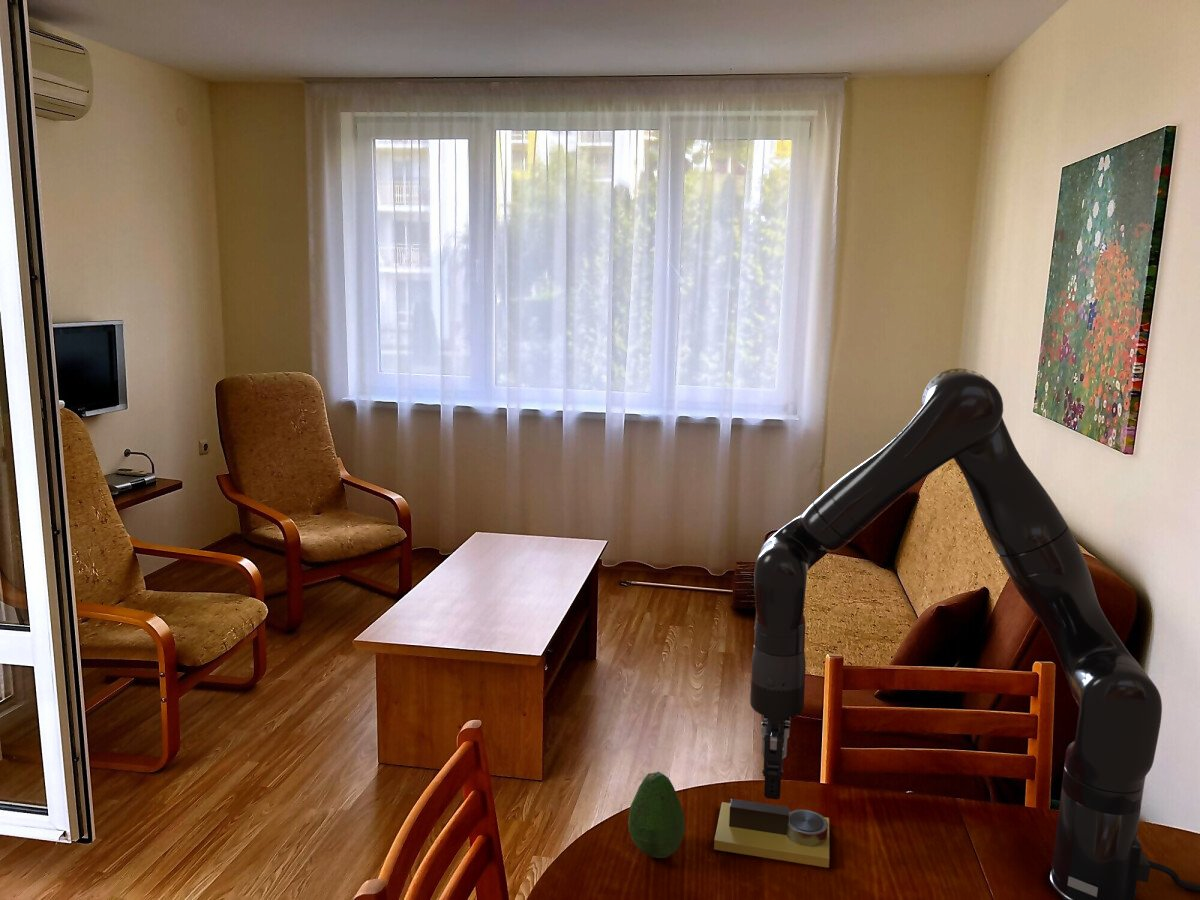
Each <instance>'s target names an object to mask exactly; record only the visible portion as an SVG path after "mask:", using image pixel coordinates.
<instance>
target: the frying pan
mask: <svg viewBox="0 0 1200 900" xmlns="http://www.w3.org/2000/svg"><path fill="white" fill-rule="evenodd" d="M729 803H730V815H729V826H730V827H736V828H743V829H749V830H756V831H762V832H769V833H775V834H782V835H786V836H787V837H788V838H789V839H790V840H791V841H793V842H795V843H797V844H800V845H803V846H818V845H821V844H823V843H824V842H825V841H826V839H827V831H828V823H827V821H826V819H825V818H824V817H825V816H823V815H822V814H821V813H819V812H816V811H814V810H810V809H809V810H808V809H795V810H792V811H791V807H790V806H785V805H777V804H770V803H765V802H764V803H763V802H757V801H750V800H743V799H736V798H731V799H730V802H729ZM789 812H790V813H789Z"/></svg>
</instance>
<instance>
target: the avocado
mask: <svg viewBox="0 0 1200 900" xmlns="http://www.w3.org/2000/svg"><path fill="white" fill-rule="evenodd" d="M628 814H629V815H628V821H627V824H628V832H629V835H630V838H631V840H632V842H633V843H634V845H635V847H636V849H638V851H640V852H641V853H643V854H645V855H647V856H649V857H651V858H653V859H667V858H668V857H670V856H672V855H674V854H675V853H676V852H677V851H678V849H679V847H680V846H681V844H682V841H683V837H684V835H685V831H686V822H685V814H684V810H683V807H682V804H681V801H680V798H679V796H678V794H677V792H676V788H675V787H674V785H673V783H672V781H671V780H670V778H669V777H668V776H667V775H665V774H664V773H662V772H661V771H656V772H651V773H647V774H646V776H645V777H644V778H643V780H642V781H641V783H640V785H639V786H638V789H637V790H636V793H635V795H634V797H633V799H632V802H631V804H630V806H629V813H628Z"/></svg>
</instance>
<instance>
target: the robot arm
mask: <svg viewBox="0 0 1200 900" xmlns="http://www.w3.org/2000/svg"><path fill="white" fill-rule="evenodd" d="M1003 414H1004V402H1003V398H1002V395H1001V392H1000V391H999V389H998V388H997V386H995V384H994V383H993V382H992V381H991V380H989V379H988V378H987V377H985V376H984V375H982V374H981V373H979V372H977V371H974V370H972V369H967V368H955V367H954V368H949V369H946V370H943V371H941V372H939V373H937V374H936V375H934V377H932V378H931V380H930V381H929V382H928V383H927V385H926V387H925V388H924V390H923V394H922V397H921V408H920V409H919V410H918V411H917V413H916V414H915V415H914V417H913V418H912V419H911V421H910V422H909V423H908V424H906V426H905V427H904V428H903V430H902V431H901V432H899V433H898V434H897V435H896V437H894V438H893V439H892V440H891V441H889V442H888V443H887V444H886V445H885V446H884V447H883V448H881V449H880V450H879V451H878V452H876V453H875V454H873V455H872V456H870V457H869V458H868V459H866V460H865V461H863V462H861V463H860V464H859V465H857V466H855V467H854V468H853V469H851V470H850V471H849V472H847V473H846V474H845V475H843V476H842V477H840V478H839V479H838V480H837V481H836V482H835V483H832V485H831V486H830V487H829V488H827V489H826V490H825V491H824V492H823V493H822V494H821V495H820V496H819V497H817V499H815V500H814V502H812V503H811V504H810V505H809V506H808V507H807V509H805V510H804V511H803V512H802V513H801V514H800V515H798V516H796V517H795V518H794V519H792V520H791V521H790V522H788V523H787V524H785V525H784V526H783V527H781V528H780V529H779V530H777V531H776V532H775V533H774V534H773V535H772V536H770V537H769V538H768V539H767V540H766V541H765V542H764V543H763V545H762V546H761V548H760V550H759V552H758V555H757V558H756V560H755V565H754V573H753V574H754V575H753V587H754V588H753V589H754V603H755V618H754V631H753V633H754V634H753V650H752V655H751V666H750V667H751V669H750V697H749V698H750V699H749V705H750V707H751V709H753V711H755V712H756V713H757V714H759V715H762V722H761V728H760V733H761V736H762V741H761V756H763V768H762V772H761V773H762V775H763V777H764V784H763V785H764V789H763V796H764V797H765V799H769V800H779V799H781V791H782V790H781V789H782V788H781V787H782V784H781V783H782V777H783V774H784V769H783V767H784V760H786V758H787V754H788V739H790V734H791V733H790V732H791V719H792V718H796V717H797V716H799V715H800V714H802V713H803V712H804V708H805V691H806V689H805V688H806V671H807V670H806V667H807V666H806V665H807V664H806V663H807V662H806V652H805V647H806V616H805V612H804V611H805V602H806V601H805V600H806V589H807V579H808V572H809V570H810V569H811V568H812V567H813V566H814V565H815V564H817V563H818V562H819V561H820V560H821V559H822V558H824V557H825V556H827V555H828V554H829V553H830V552H837V551H839V550H840V549H841V548H844V546H846V545H847V544H848V543H850V542H851V541H852V540H853V539H854V538H856V537H857V536H858V535H859V534H860V533H862V531H864V530H865V529H866V528H867V527H868V526H869V525H870V524H871V523H873V522H874V521H875V520H876V519H877V518H878V517H879V516H881V515H882V514H883V513H884V512H885V511H886V510H888V508H890V507H891V506H892V505H893V504H894V503H895V502H897V500H899V499H900V498H901V497H902V496H903V495H905V494H906V493H908V491H910V489H912V488H913V487H914V486H916V485H917V484H918V483H919V482H921V481H922V480H923V479H924V478H926V477H928V476H929V475H930V474H932V473H934V471H936V470H937V469H939V468H940V467H942V466H943V465H945V464H946V463H948V462H949V461H951V460H954V462H955V463H956V465H957V466H958V469H960V472H961V473H962V475H963V477H964V479H965V480H966V483H967V485H968V489H969V491H970V494H971V496H972V500H973V501H974V505H975V507H976V509H977V512H978V515H979V518H980V521H981V522H982V524H983V528H984V529H985V531H986V534H987V537H988V538H989V540H990V543H991V545H992V547H993V550H994V552H995V554H996V555H997V558H998V559H999V561H1000V562H1001V565H1002V567H1003V568H1004V570H1005V572H1006V575H1008V577H1009V579H1010V581H1011V582H1012V584H1013V585H1014V587H1015V589H1016V590H1017V592H1018V593H1019V595H1020V596H1021V598H1022V599H1023V601H1024V602H1025V603H1026V605H1027V606H1028V607H1029V608H1030V610H1031V611H1032V613H1033V614H1034V615H1035V617H1036V618H1037V619H1038V620H1039V622H1040V623H1041V624H1042V626H1043V627H1044V629H1045V631H1046V633H1047V635H1048V636H1049V639H1050V641H1051V643H1052V645H1053V648H1054V650H1055V653H1056V654H1057V656H1058V659H1059V662H1060V664H1061V667H1062V669H1063V673H1064V675H1065V678H1066V681H1067V684H1068V687H1069V690H1070V692H1071V695H1072V697H1073V699H1074V701H1075V702H1076V703H1075V704H1076V705H1077V707H1078V716H1077V723H1076V731H1075V737H1074V740H1073V741H1072V742H1070V743H1069V745H1067V747H1066V750H1065V756H1064V757H1065V758H1064V763H1063V765H1064V766H1063V772H1062V773H1063V774H1062V783H1061V790H1060V799H1059V807H1058V815H1057V824H1056V831H1055V840H1054V849H1053V857H1052V863H1051V871H1050V875H1049V883H1050V885H1051V888H1052V889H1053V891H1054V892H1055V893H1056V894H1057V895H1058V896H1059V897H1060V898H1062V899H1063V900H1136V893H1137V885H1138V882H1143V883H1149V878H1150V872H1151V869H1153V870H1156V871H1159V872H1162V873H1164V874H1166V875H1168V876H1170V878H1171V880H1172V882H1173V883H1174V885H1176V886H1177V887H1180V888H1183V889H1185V890H1190V891H1194V892H1200V884H1195V883H1191V882H1188V881H1185V880H1182V879H1181V878H1180V877H1179V875H1178V873H1177V872H1176V871H1175V870H1174V869H1172V868H1171V867H1168V866H1166V865H1164V864H1161V863H1158V862H1155V861H1152V860H1148V859H1147V857H1146V855H1145V853H1144V852H1143V850H1142V849H1143V845H1142V843H1141V841H1140V840H1139V838H1138V833H1139V826H1140V818H1141V812H1142V811H1141V810H1142V804H1143V795H1144V789H1145V783H1146V778H1147V775H1148V774H1149V772H1150V771H1151V769H1152V767H1153V765H1154V761H1155V757H1156V751H1157V745H1158V742H1159V741H1158V740H1159V736H1160V729H1161V723H1162V716H1163V703H1162V697H1161V693H1160V691H1159V689H1158V688H1157V686H1156V685H1155V683H1154V681H1152V679H1151V678H1150V677H1149V675H1148V674H1147V672H1146V671H1145V670H1144V668H1143V667H1142V666H1141V665H1140V663H1139V662H1138V660H1136V659H1135V657H1134V656H1132V654H1131V653H1130V652H1129V650H1128V649H1127V647H1126V646H1125V644H1124V643H1123V642H1122V640H1121V638H1120V637H1119V636H1118V634H1117V633H1116V631H1115V630H1114V628H1113V626H1112V625H1111V624H1110V622H1109V620H1108V618H1107V617H1106V615H1105V613H1104V611H1103V609H1102V608H1101V605H1100V603H1099V600H1098V596H1097V593H1096V590H1095V586H1094V582H1093V579H1092V575H1091V573H1090V569H1089V567H1088V564H1087V562H1086V558H1085V557H1084V554H1083V552H1082V550H1081V548H1080V546H1079V544H1078V542H1077V540H1076V538H1075V536H1074V534H1073V533H1072V531H1071V529H1070V526H1069V525H1068V523H1067V521H1066V519H1065V518H1064V516H1063V514H1062V513H1061V511H1060V510H1059V508H1058V507H1057V505H1056V503H1055V501H1054V500H1053V499H1052V498H1051V496H1050V495H1049V493H1048V492H1047V490H1046V489H1045V488H1044V486H1043V485H1042V484H1041V482H1040V480H1038V478H1037V477H1036V476H1035V474H1034V473H1033V471H1032V470H1031V469H1030V467H1029V466H1028V465H1027V464H1026V462H1025V460H1024V459H1023V458H1022V456H1021V455H1020V453H1019V451H1018V449H1017V447H1016V446H1015V443H1014V441H1013V438H1012V437H1011V434H1010V432H1009V430H1008V428H1007V425H1006V423H1005V421H1004V418H1003Z"/></svg>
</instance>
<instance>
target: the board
mask: <svg viewBox="0 0 1200 900" xmlns="http://www.w3.org/2000/svg"><path fill="white" fill-rule="evenodd" d="M730 803H731V802H724V801H722V802H721V805H720V810H719V815H718V821H717V826H716V831H715V835H714V843H713V849H714V851H721V852H727V853H734V854H739V855H746V856H752V857H759V858H764V859H772V860H778V861H782V862H790V863H795V864H801V865H808V866H815V867H821V868H828V869H829V868H830V817H825V816H823V817H824V818H825V819H826V821H827V823H828V831H827V839H826V841H825V842H824V843H823V844H821V845H818V846H803V845H800V844H797V843H795V842H793V841H791V840H790V839H789V838H788V837H787V836H786V835H782V834H775V833H769V832H762V831H756V830H749V829H743V828H736V827H730V826H729V815H730ZM790 812H791V811H789V813H790Z"/></svg>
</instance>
